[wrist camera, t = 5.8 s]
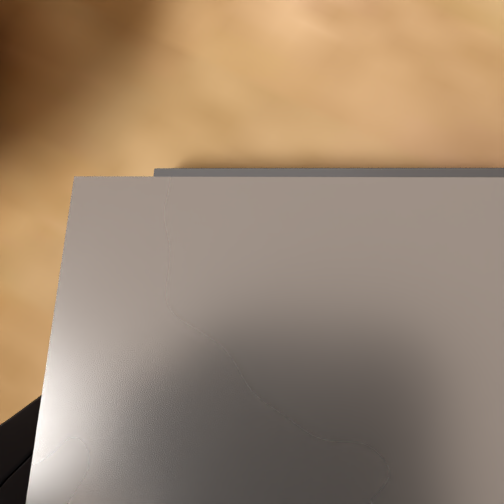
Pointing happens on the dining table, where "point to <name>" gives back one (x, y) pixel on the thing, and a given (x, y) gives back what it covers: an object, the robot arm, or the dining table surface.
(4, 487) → the robot arm
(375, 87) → the dining table surface
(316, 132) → the dining table surface
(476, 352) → the block
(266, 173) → the jack stand base
